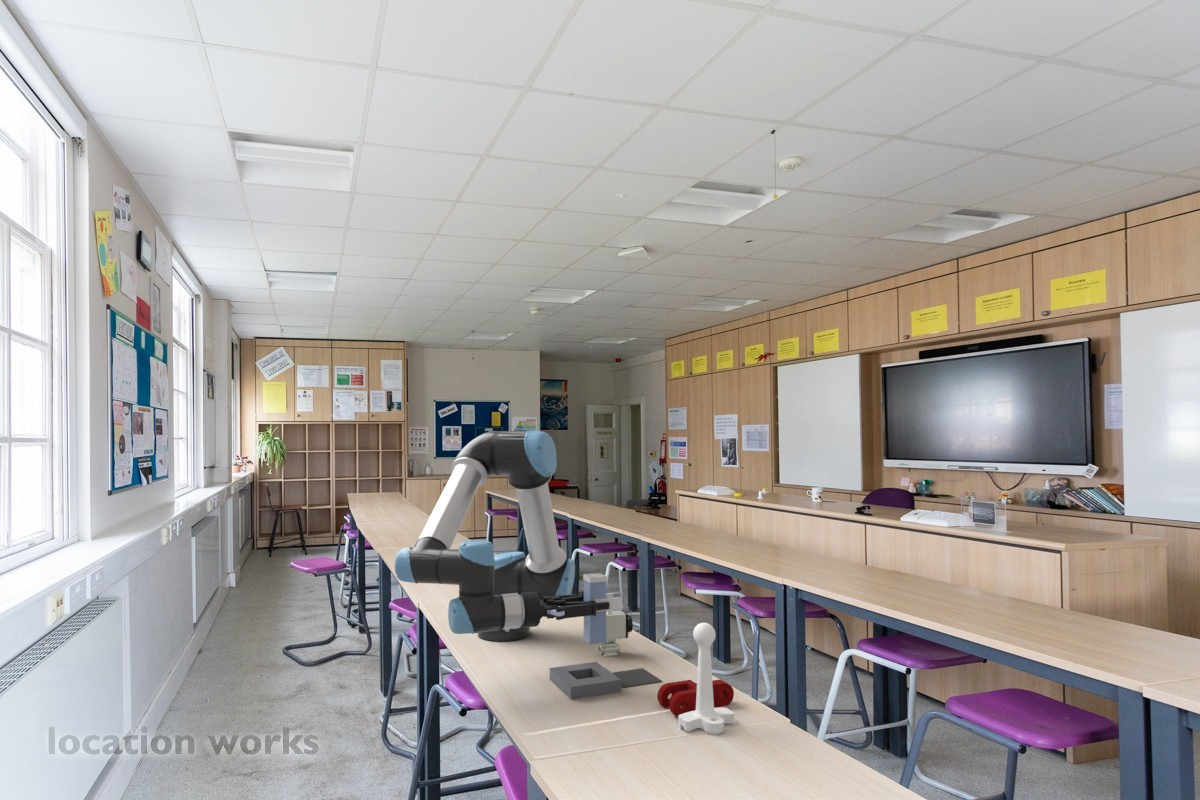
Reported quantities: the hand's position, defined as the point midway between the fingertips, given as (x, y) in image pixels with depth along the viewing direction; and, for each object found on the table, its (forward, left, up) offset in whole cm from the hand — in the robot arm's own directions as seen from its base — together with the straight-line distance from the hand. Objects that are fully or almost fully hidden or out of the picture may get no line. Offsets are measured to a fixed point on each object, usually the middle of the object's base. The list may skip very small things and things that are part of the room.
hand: (616, 601), depth 167 cm
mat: (-1, +5, -19) cm, 19 cm away
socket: (-1, -8, -19) cm, 20 cm away
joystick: (+30, +6, -19) cm, 36 cm away
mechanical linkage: (+21, +10, -19) cm, 30 cm away
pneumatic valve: (-21, +7, -19) cm, 29 cm away
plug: (0, -5, -9) cm, 10 cm away
